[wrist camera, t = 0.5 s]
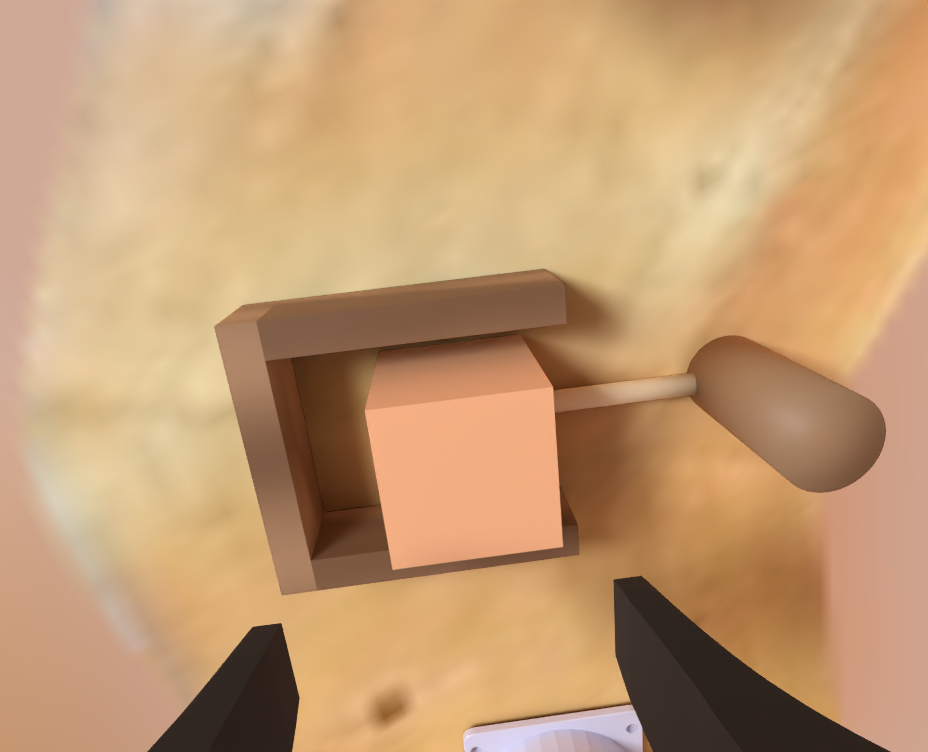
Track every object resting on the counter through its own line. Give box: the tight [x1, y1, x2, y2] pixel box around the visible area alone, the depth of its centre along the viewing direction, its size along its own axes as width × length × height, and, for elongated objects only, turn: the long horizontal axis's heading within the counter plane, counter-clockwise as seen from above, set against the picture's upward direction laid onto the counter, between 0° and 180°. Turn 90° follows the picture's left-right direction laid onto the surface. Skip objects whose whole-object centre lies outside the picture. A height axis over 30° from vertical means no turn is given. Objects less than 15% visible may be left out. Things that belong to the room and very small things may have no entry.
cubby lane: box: [214, 269, 579, 595], centre depth 20 cm, size 9×10×3 cm
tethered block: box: [365, 335, 886, 570], centre depth 19 cm, size 5×14×6 cm, turn 96°
